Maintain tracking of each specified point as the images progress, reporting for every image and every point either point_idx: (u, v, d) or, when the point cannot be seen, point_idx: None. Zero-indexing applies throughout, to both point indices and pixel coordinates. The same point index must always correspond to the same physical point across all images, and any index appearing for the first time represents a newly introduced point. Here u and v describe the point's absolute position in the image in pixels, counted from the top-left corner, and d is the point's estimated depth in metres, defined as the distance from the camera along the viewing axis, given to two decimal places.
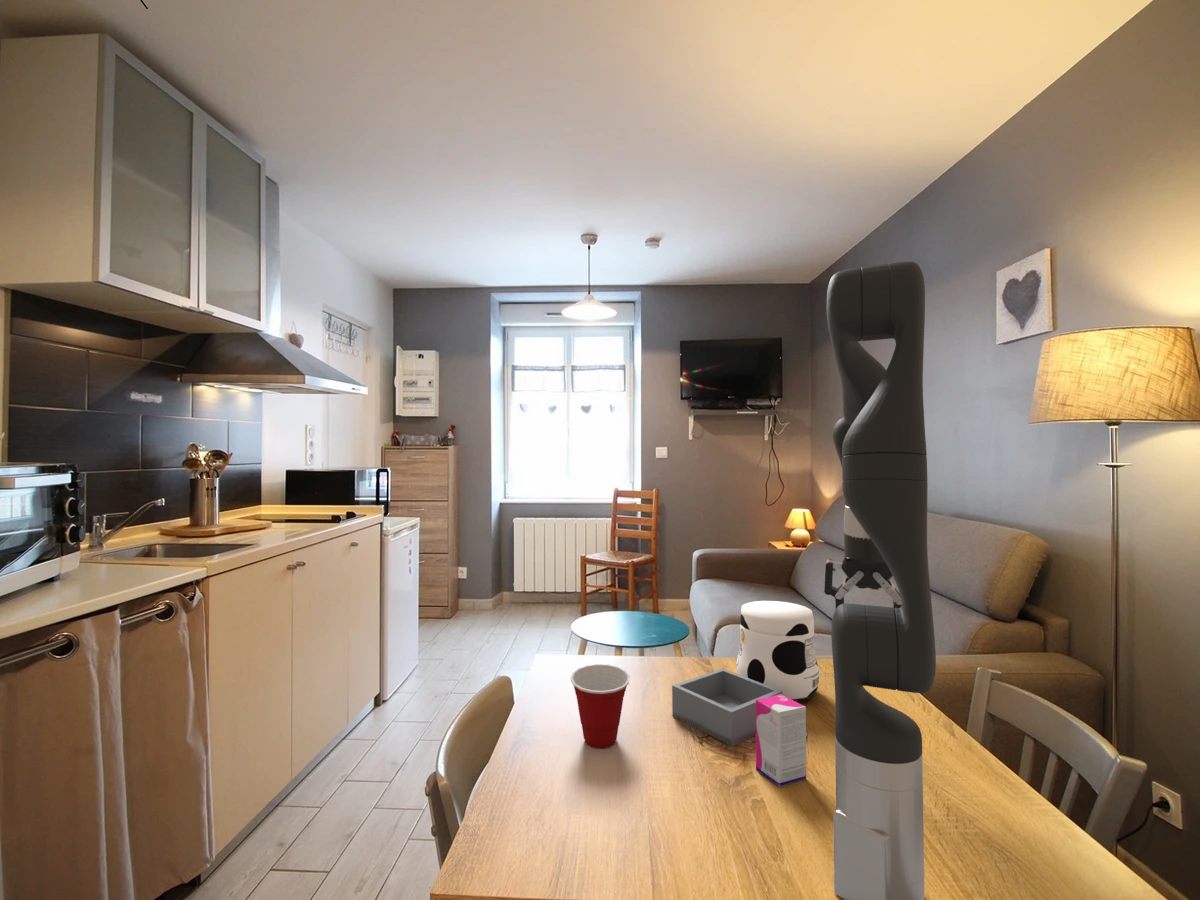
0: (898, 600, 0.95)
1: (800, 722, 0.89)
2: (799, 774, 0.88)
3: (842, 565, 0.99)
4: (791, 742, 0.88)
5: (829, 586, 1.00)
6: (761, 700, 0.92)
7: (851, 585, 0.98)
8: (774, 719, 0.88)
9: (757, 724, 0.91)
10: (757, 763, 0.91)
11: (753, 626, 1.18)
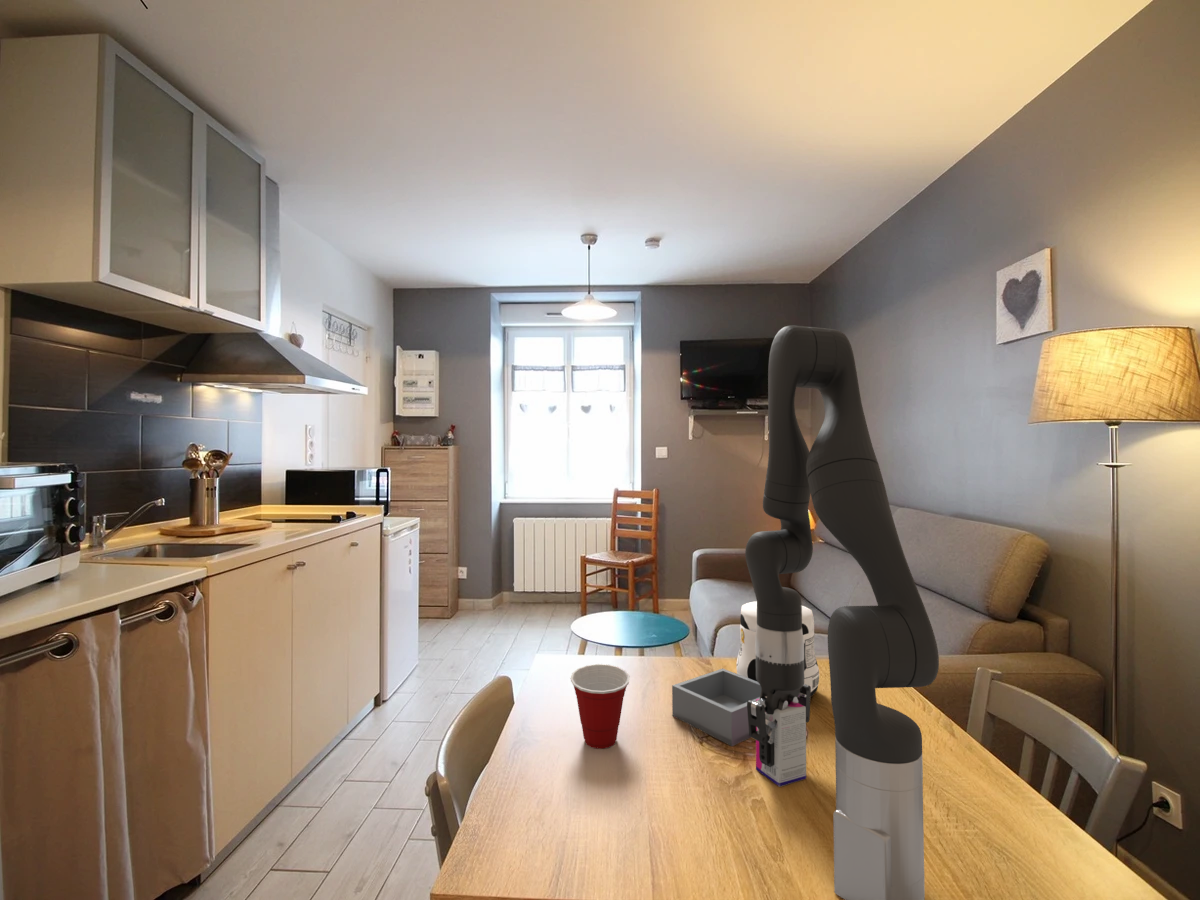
0: None
1: (800, 722, 0.89)
2: (799, 774, 0.88)
3: (766, 701, 0.88)
4: (791, 742, 0.88)
5: (764, 732, 0.86)
6: None
7: None
8: (774, 719, 0.88)
9: None
10: (757, 763, 0.91)
11: (753, 626, 1.18)
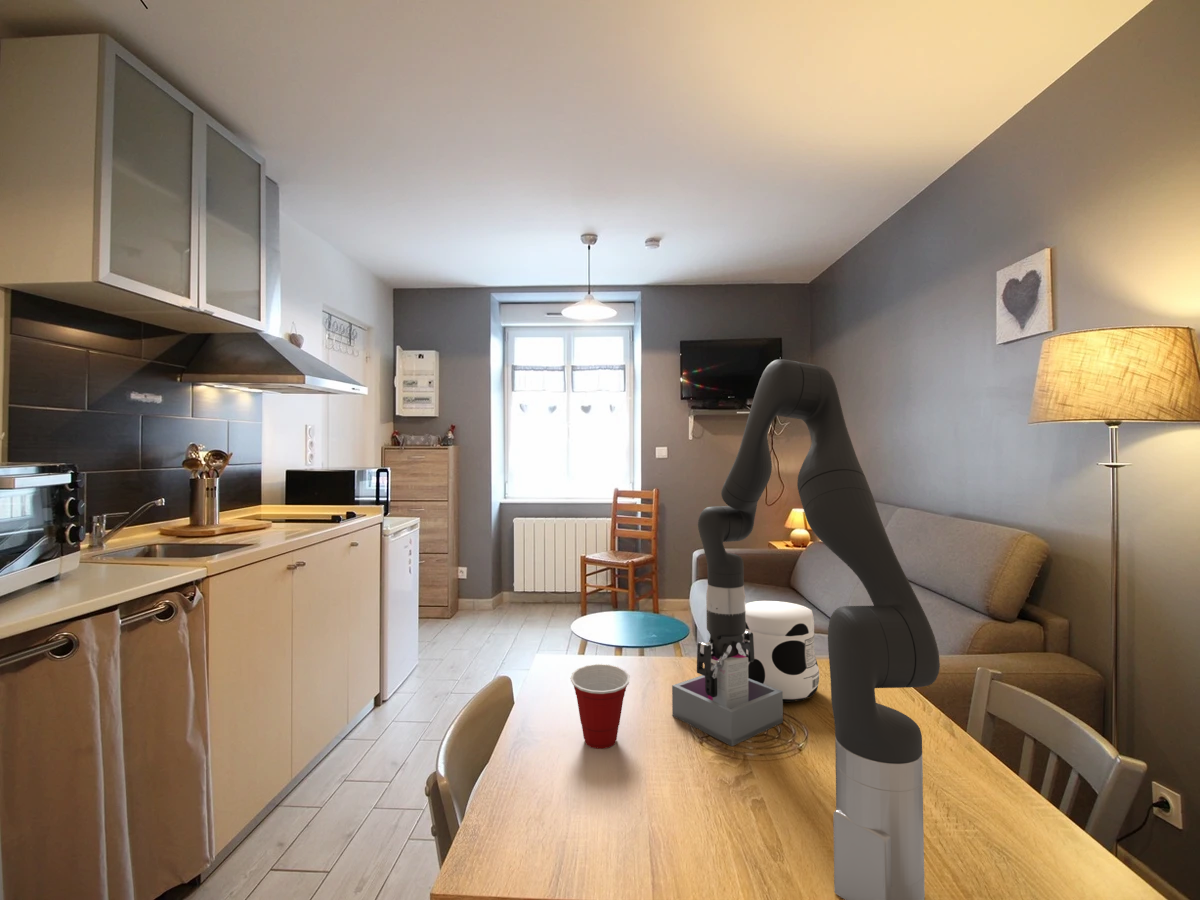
0: None
1: (743, 670, 1.08)
2: None
3: (713, 644, 1.07)
4: (736, 685, 1.07)
5: (709, 668, 1.05)
6: None
7: None
8: (723, 667, 1.07)
9: None
10: None
11: (753, 626, 1.18)
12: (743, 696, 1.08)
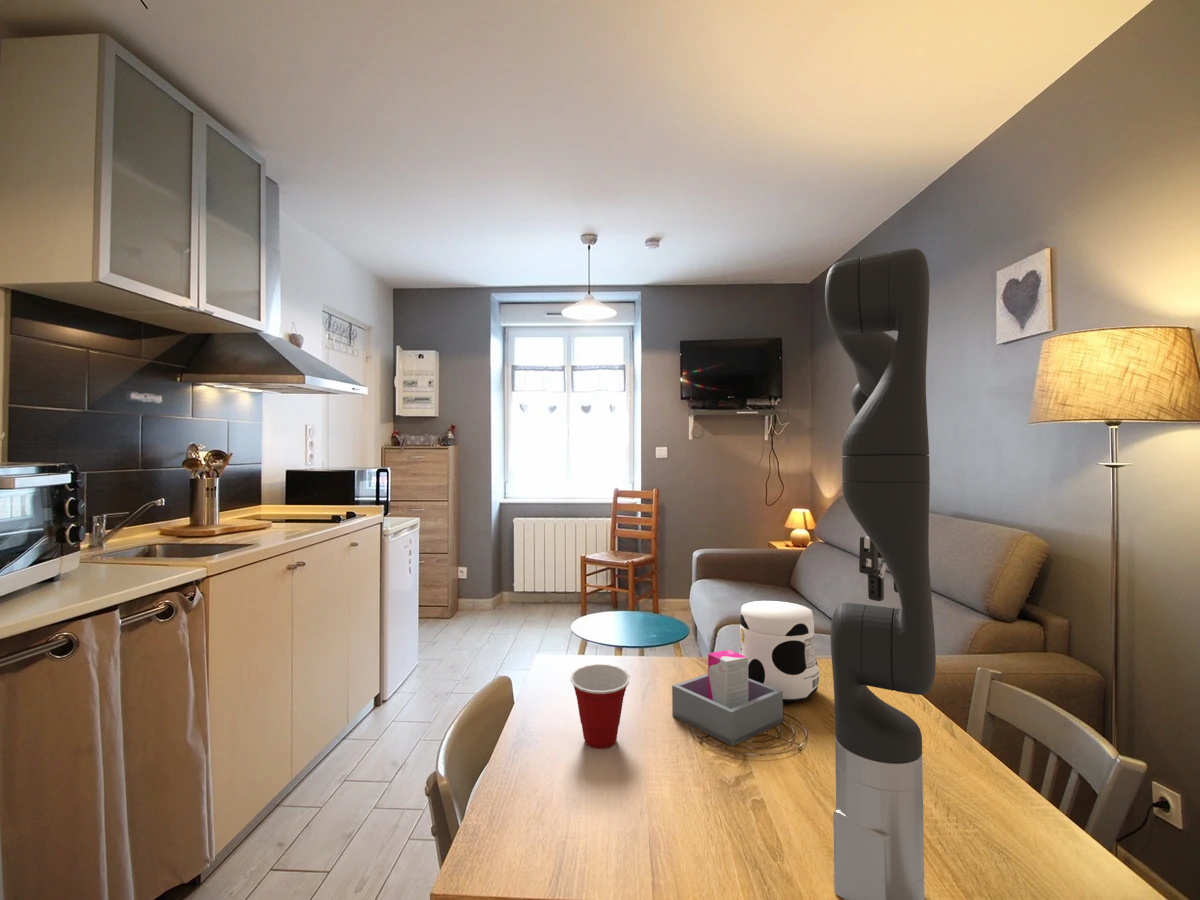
0: None
1: (743, 670, 1.08)
2: None
3: None
4: (736, 685, 1.07)
5: (876, 565, 0.88)
6: (712, 654, 1.11)
7: None
8: (723, 667, 1.07)
9: (709, 674, 1.11)
10: None
11: (753, 626, 1.18)
12: (743, 696, 1.08)
